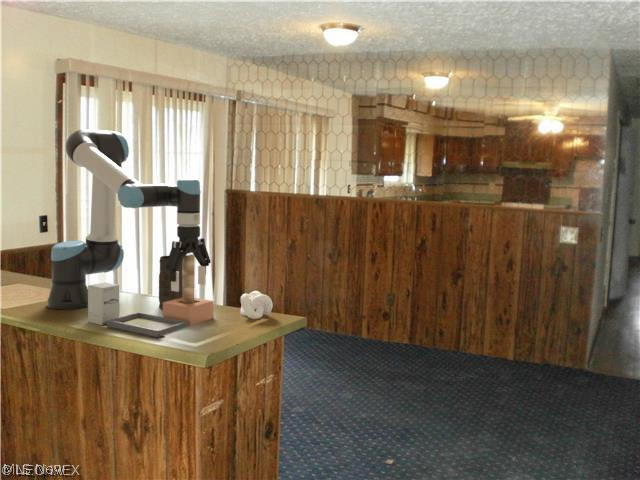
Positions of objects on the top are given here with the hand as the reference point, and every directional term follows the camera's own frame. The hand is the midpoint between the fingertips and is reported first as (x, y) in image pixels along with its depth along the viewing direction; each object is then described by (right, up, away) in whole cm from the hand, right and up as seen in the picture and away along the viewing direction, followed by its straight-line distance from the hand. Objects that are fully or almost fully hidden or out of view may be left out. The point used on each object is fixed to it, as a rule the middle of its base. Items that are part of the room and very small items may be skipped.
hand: (188, 287), depth 215 cm
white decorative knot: (+21, -12, +9) cm, 26 cm away
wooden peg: (0, -11, +1) cm, 11 cm away
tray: (-12, -13, -8) cm, 19 cm away
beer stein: (-9, -9, +21) cm, 25 cm away
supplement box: (-28, -12, -1) cm, 31 cm away
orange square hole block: (-1, -12, +2) cm, 12 cm away
